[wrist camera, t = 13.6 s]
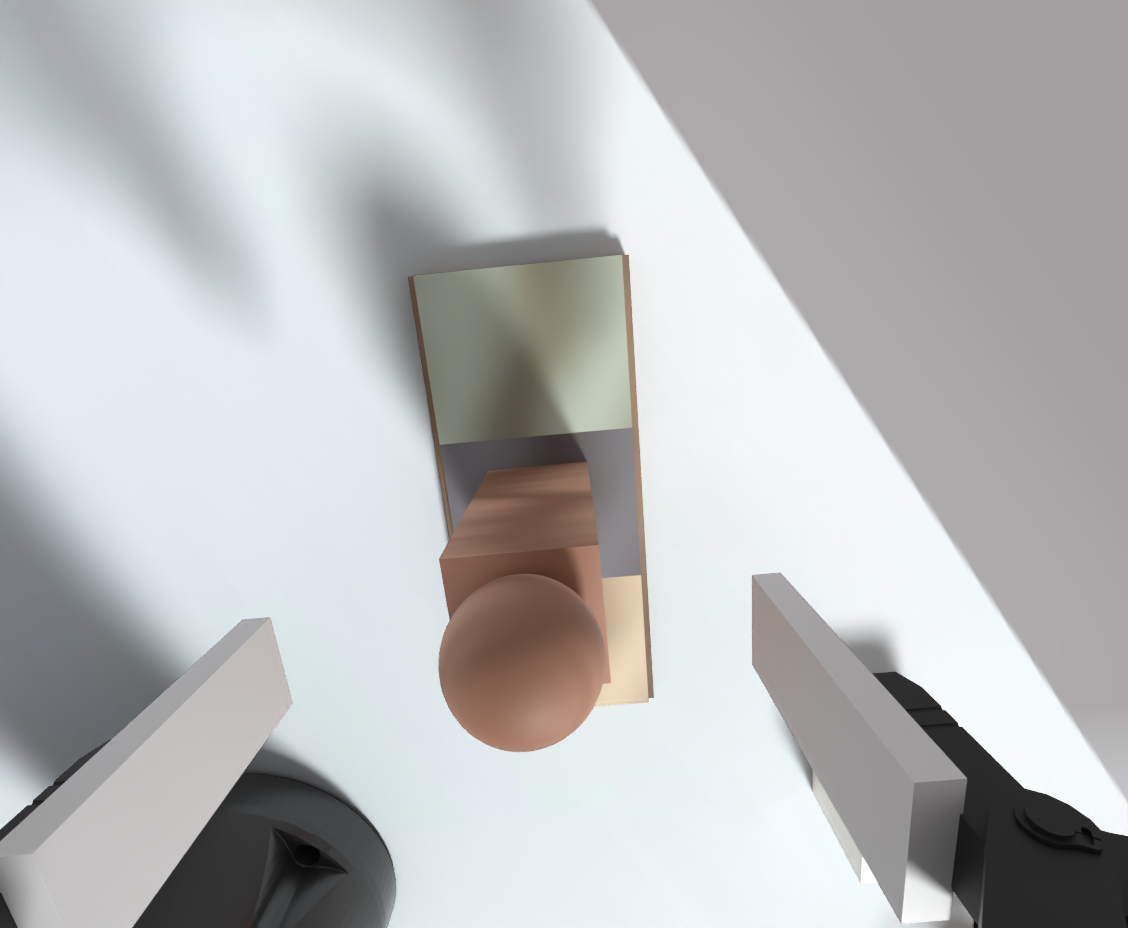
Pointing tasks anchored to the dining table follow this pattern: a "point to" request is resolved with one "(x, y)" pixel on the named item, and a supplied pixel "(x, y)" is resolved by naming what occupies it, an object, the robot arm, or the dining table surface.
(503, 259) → the dining table surface
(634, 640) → the board
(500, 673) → the pawn
